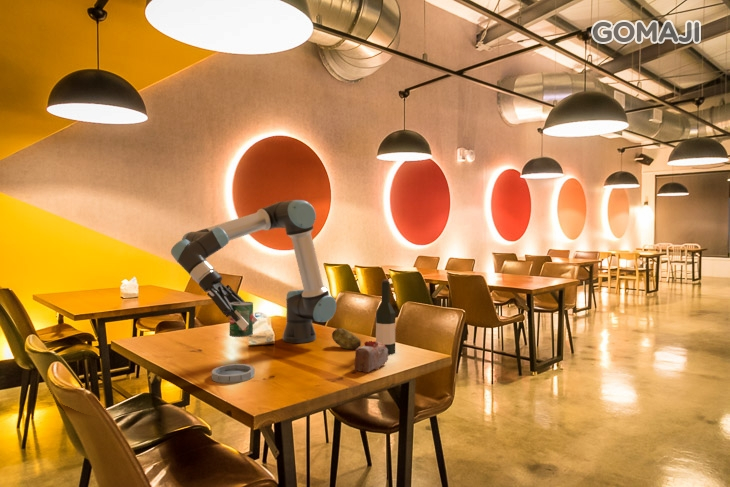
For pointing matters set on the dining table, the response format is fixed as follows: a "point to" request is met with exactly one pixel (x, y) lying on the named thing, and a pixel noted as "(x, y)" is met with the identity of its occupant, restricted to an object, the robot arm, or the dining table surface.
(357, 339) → the potato
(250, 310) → the canned tomato
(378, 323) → the wine bottle
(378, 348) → the food item
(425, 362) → the dining table surface
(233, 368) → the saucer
